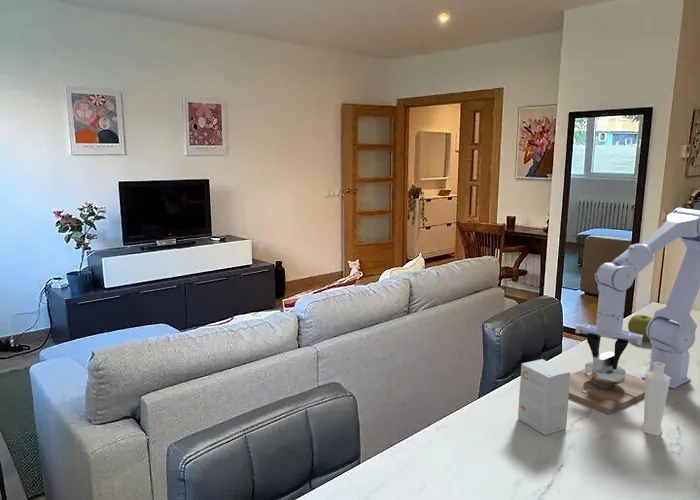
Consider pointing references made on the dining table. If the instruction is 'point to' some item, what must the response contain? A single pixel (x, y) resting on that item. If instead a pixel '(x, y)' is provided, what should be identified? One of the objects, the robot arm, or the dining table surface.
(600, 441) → the dining table surface
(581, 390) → the post board
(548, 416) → the small box
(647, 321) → the apple
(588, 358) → the dining table surface
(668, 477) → the dining table surface
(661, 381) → the perfume bottle
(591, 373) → the cap
